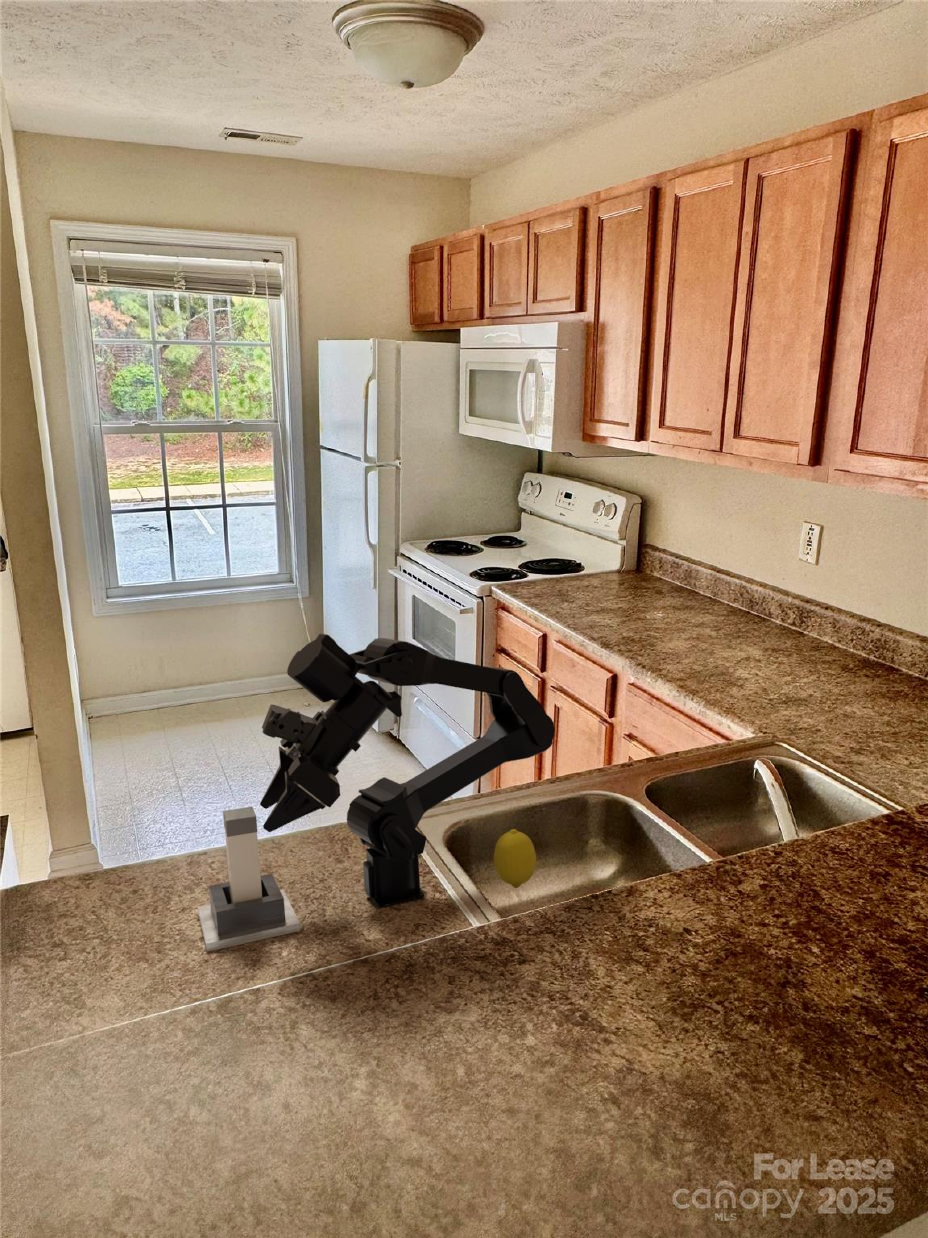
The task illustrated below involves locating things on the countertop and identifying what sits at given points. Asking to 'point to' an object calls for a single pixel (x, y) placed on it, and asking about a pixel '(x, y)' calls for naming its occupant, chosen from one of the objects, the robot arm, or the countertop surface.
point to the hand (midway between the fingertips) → (264, 817)
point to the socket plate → (246, 916)
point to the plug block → (242, 854)
